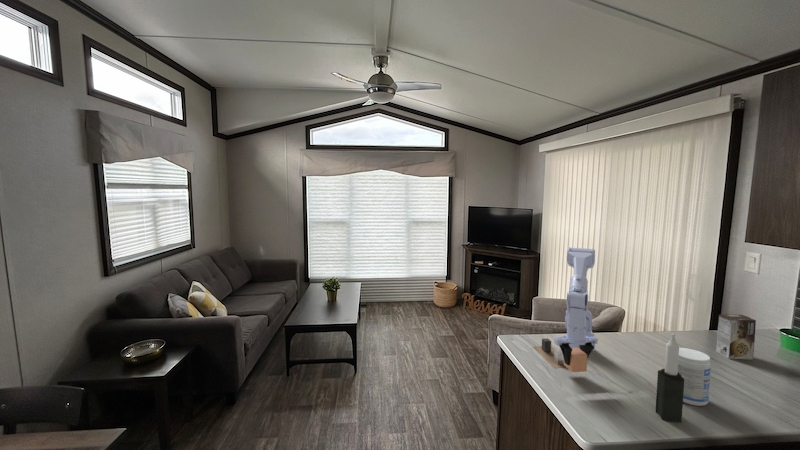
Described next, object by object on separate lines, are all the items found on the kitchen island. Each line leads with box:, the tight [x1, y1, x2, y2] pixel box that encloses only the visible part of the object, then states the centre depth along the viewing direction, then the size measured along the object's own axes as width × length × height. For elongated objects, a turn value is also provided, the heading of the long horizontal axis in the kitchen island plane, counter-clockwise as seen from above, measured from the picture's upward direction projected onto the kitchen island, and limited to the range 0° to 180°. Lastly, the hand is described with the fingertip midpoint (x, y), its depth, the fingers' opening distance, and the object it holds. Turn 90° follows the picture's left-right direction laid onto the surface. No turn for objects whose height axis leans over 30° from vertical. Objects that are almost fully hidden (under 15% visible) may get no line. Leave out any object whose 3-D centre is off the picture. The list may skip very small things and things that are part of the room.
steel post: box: [554, 348, 564, 364], centre depth 129 cm, size 3×3×4 cm
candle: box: [655, 333, 684, 423], centre depth 99 cm, size 5×5×25 cm
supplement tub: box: [678, 347, 712, 407], centre depth 108 cm, size 10×10×15 cm
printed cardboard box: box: [715, 313, 757, 360], centre depth 136 cm, size 9×6×16 cm
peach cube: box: [564, 348, 588, 373], centre depth 119 cm, size 5×5×6 cm
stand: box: [532, 338, 568, 369], centre depth 134 cm, size 8×18×6 cm, turn 4°
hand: (575, 363), depth 119 cm, fingers closed on peach cube, 5 cm apart
